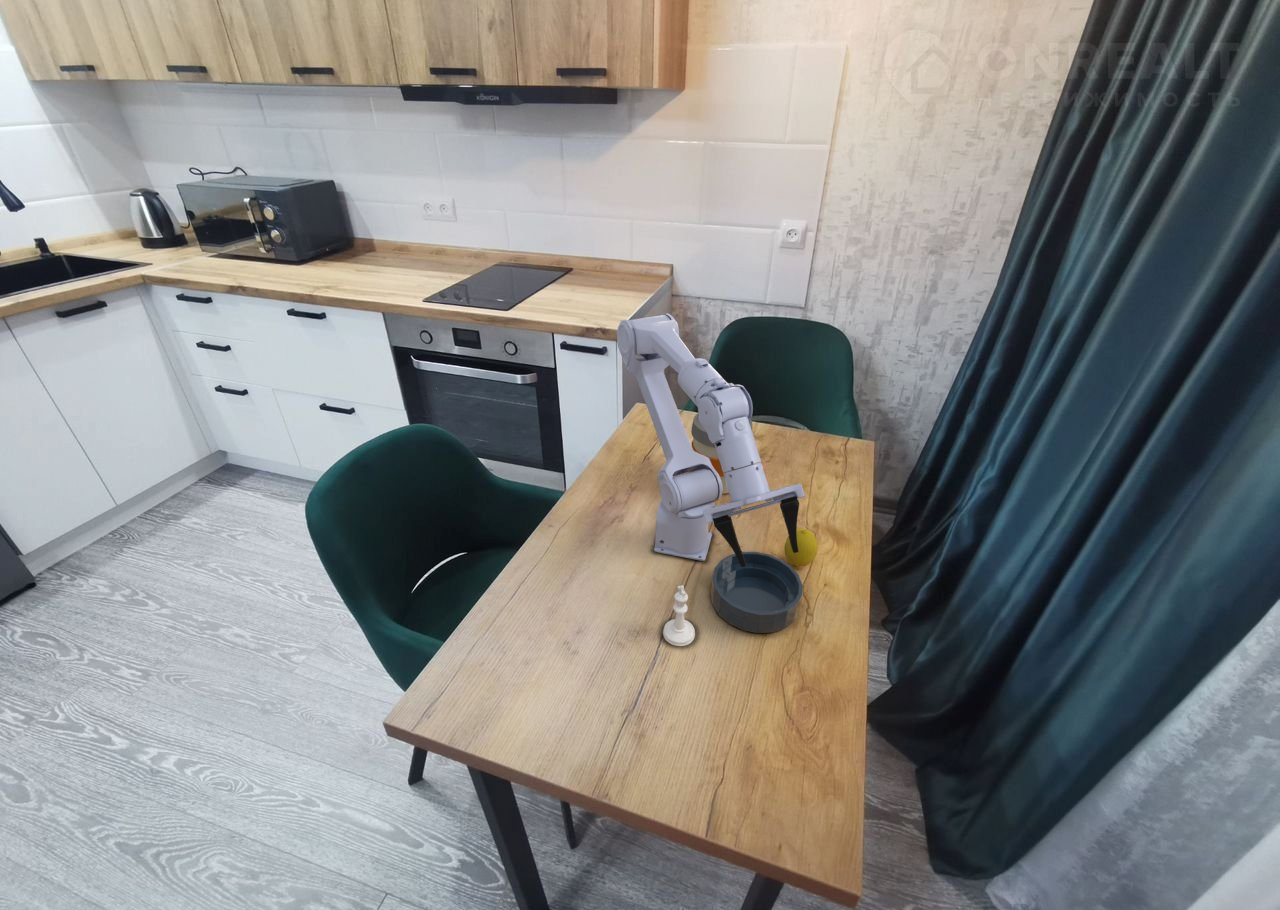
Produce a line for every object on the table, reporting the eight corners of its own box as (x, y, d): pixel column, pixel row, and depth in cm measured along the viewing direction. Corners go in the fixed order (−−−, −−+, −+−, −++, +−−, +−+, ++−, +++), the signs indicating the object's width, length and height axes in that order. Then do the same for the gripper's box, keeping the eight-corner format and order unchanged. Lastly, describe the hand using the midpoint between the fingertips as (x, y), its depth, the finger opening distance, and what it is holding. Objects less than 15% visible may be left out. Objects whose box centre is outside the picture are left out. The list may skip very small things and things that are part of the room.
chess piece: (673, 651, 84) (676, 603, 79) (657, 628, 88) (658, 581, 83) (701, 638, 86) (705, 591, 81) (684, 616, 90) (687, 570, 85)
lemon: (814, 578, 98) (822, 542, 94) (781, 573, 99) (788, 538, 95) (812, 556, 103) (820, 522, 98) (781, 552, 103) (787, 518, 99)
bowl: (703, 624, 89) (705, 603, 87) (718, 564, 101) (720, 544, 98) (796, 644, 86) (800, 623, 83) (799, 580, 97) (803, 560, 95)
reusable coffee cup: (754, 477, 125) (763, 417, 117) (731, 506, 115) (738, 442, 108) (704, 460, 130) (708, 402, 122) (677, 486, 121) (680, 425, 113)
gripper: (692, 482, 79) (719, 576, 78) (794, 453, 77) (823, 549, 76) (696, 481, 86) (721, 567, 85) (789, 454, 84) (816, 542, 83)
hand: (769, 558), depth 81 cm, fingers open, 7 cm apart
